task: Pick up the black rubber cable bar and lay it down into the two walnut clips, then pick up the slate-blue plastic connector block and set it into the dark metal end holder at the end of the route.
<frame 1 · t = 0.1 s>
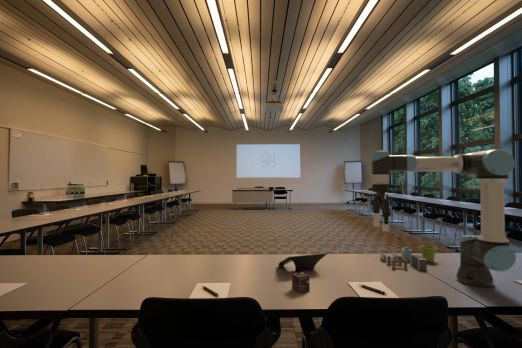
hand: (380, 228, 141), 28 cm above the table, fingers open, 13 cm apart
clip b: (394, 264, 179), on the table
box: (300, 291, 138), on the table
clip a: (399, 268, 171), on the table
end holder: (389, 260, 188), on the table
plant pot: (428, 261, 188), on the table
cable bar: (418, 267, 174), on the table
portable electronic device stand: (299, 269, 171), on the table
connector: (406, 260, 189), on the table
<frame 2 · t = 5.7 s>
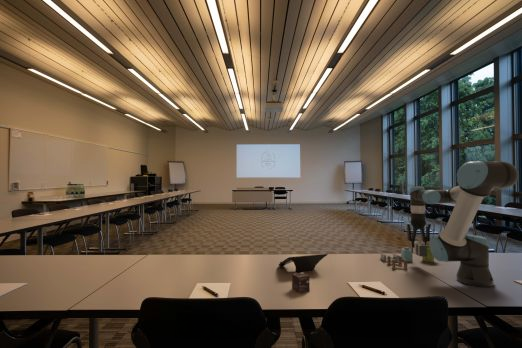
hand: (418, 253, 174), 8 cm above the table, fingers closed on cable bar, 4 cm apart
cable bar: (418, 253, 174), point 8 cm above the table, touching gripper
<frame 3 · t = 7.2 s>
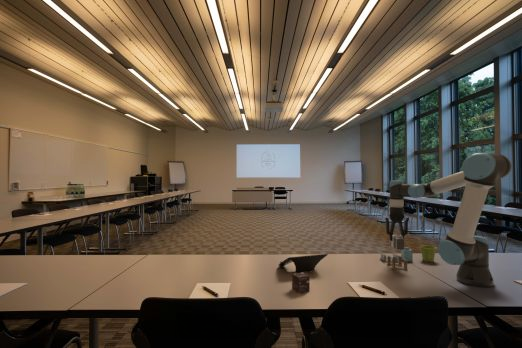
hand: (396, 246, 176), 12 cm above the table, fingers closed on cable bar, 4 cm apart
cable bar: (396, 246, 176), point 11 cm above the table, touching gripper
when the fingers open (2 cm above the table, at t = 9.1 s): cable bar stays where it is, resting on clip a, clip b.
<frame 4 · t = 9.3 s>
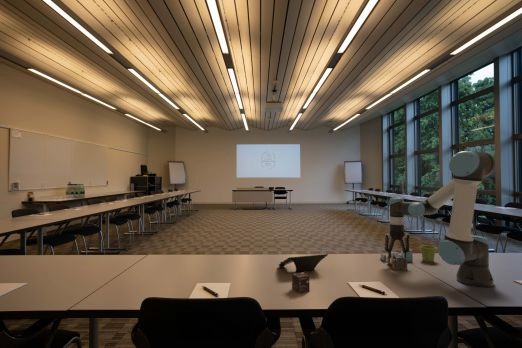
hand: (397, 263, 175), 2 cm above the table, fingers open, 6 cm apart
cable bar: (396, 265, 176), point 1 cm above the table, touching clip a, clip b
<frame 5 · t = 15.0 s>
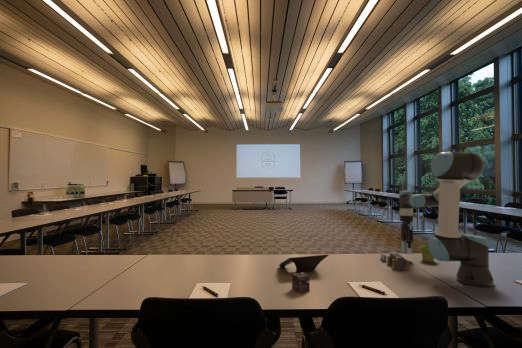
hand: (407, 252, 188), 5 cm above the table, fingers closed on connector, 5 cm apart
connector: (407, 252, 188), point 5 cm above the table, touching gripper
when the fingers open (2 cm above the table, at t = 19.0 s): connector stays where it is, point 1 cm above the table.
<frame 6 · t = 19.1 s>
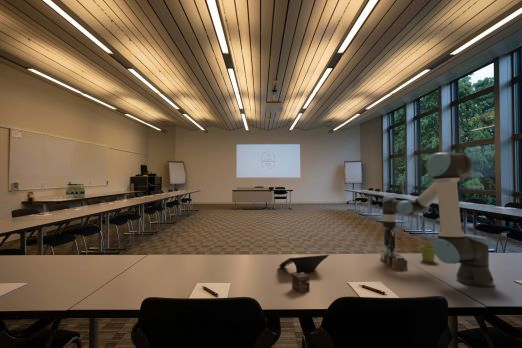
hand: (389, 257, 188), 2 cm above the table, fingers open, 5 cm apart
connector: (389, 258, 188), point 1 cm above the table
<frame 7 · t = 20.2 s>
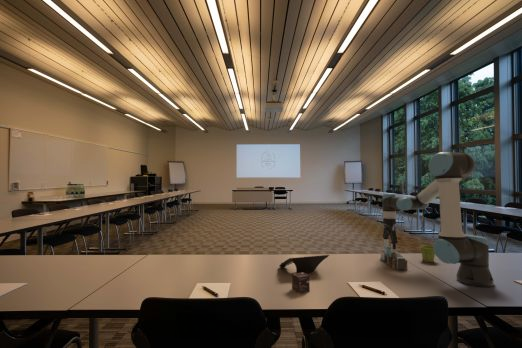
hand: (390, 252, 188), 6 cm above the table, fingers open, 13 cm apart
cable bar: (397, 265, 175), point 1 cm above the table, touching clip a
connector: (389, 259, 188), point 1 cm above the table, touching end holder
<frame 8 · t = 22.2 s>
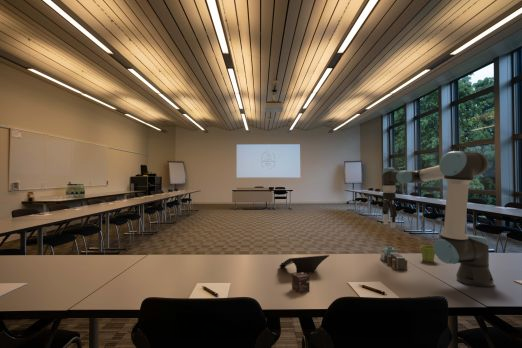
hand: (389, 226, 189), 22 cm above the table, fingers open, 13 cm apart
cable bar: (397, 265, 175), point 1 cm above the table, touching clip a, clip b
at the end: cable bar 0.4 cm from the target spot, point 0.6 cm above the table; connector 0.0 cm off-centre on the end holder, point 0.6 cm above the end holder's base; connector tilted 0° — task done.
